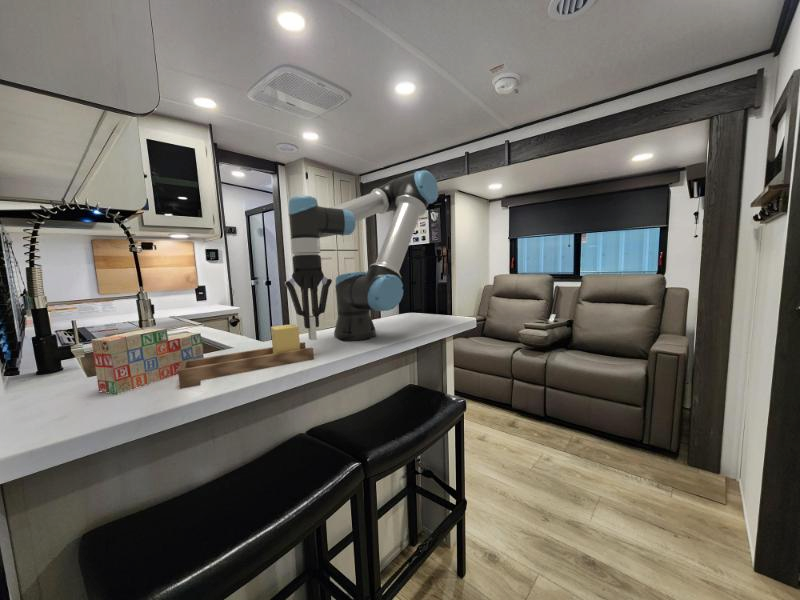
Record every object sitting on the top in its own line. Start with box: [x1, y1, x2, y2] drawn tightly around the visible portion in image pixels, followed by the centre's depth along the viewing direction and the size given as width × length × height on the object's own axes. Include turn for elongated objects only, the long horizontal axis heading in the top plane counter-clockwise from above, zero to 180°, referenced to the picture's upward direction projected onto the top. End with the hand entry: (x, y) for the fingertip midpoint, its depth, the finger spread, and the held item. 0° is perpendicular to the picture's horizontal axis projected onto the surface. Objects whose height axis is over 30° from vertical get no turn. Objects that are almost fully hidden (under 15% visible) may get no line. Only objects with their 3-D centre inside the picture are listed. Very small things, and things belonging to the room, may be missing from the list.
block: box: [270, 323, 301, 354], centre depth 87 cm, size 6×6×9 cm
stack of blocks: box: [91, 328, 205, 395], centre depth 80 cm, size 21×6×12 cm, turn 161°
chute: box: [177, 341, 315, 389], centre depth 82 cm, size 30×9×4 cm, turn 121°
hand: (312, 339), depth 90 cm, fingers closed
